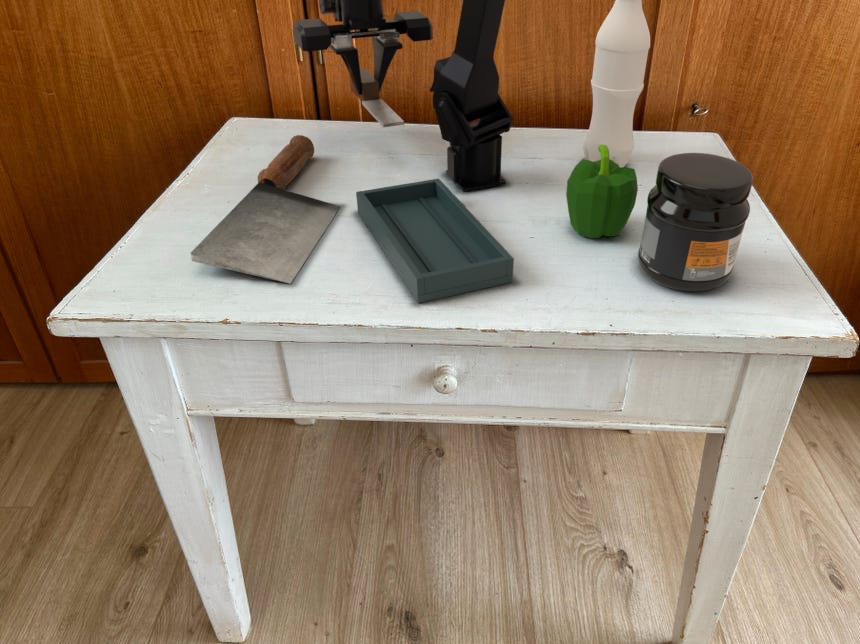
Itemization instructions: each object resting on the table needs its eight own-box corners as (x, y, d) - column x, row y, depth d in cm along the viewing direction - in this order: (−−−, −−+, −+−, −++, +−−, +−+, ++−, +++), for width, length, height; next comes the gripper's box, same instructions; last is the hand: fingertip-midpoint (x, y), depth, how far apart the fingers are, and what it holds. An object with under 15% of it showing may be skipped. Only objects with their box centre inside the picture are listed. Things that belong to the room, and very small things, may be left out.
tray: (439, 199, 93) (438, 178, 91) (512, 282, 77) (513, 258, 75) (357, 213, 89) (355, 191, 87) (417, 303, 73) (416, 279, 72)
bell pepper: (624, 251, 83) (637, 171, 77) (556, 239, 85) (564, 160, 79) (635, 220, 89) (648, 143, 83) (571, 210, 91) (580, 134, 85)
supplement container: (747, 292, 77) (778, 188, 69) (655, 299, 75) (677, 195, 68) (706, 244, 85) (730, 147, 77) (622, 250, 83) (639, 152, 76)
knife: (367, 87, 109) (366, 67, 107) (404, 124, 97) (403, 102, 95) (348, 90, 108) (346, 69, 106) (383, 127, 96) (381, 105, 94)
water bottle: (638, 161, 104) (670, -30, 89) (618, 178, 99) (648, -21, 84) (594, 150, 107) (617, -36, 92) (573, 166, 102) (593, -28, 87)
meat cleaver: (291, 283, 76) (286, 250, 73) (191, 274, 77) (182, 242, 74) (369, 163, 102) (367, 136, 100) (293, 157, 103) (289, 130, 101)
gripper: (405, -40, 103) (410, 71, 113) (277, -33, 97) (293, 83, 107) (433, -26, 95) (435, 92, 105) (294, -18, 89) (310, 107, 99)
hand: (368, 93), depth 104 cm, fingers closed on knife, 2 cm apart
